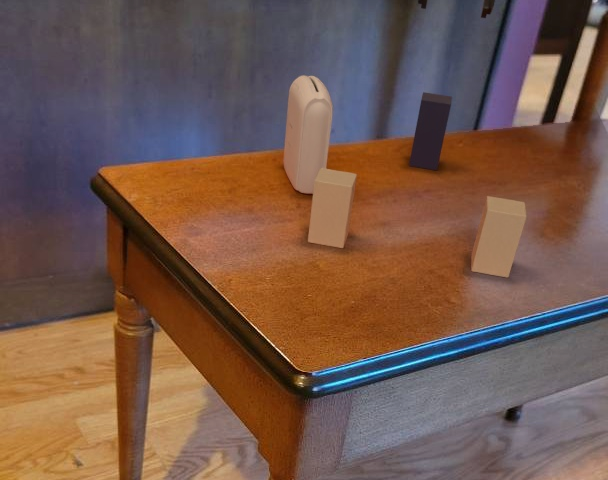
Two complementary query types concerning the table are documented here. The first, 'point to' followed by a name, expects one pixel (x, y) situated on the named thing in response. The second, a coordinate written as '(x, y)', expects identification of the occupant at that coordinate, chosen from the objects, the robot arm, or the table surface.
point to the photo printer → (307, 132)
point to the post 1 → (331, 207)
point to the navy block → (430, 130)
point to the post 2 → (498, 236)
